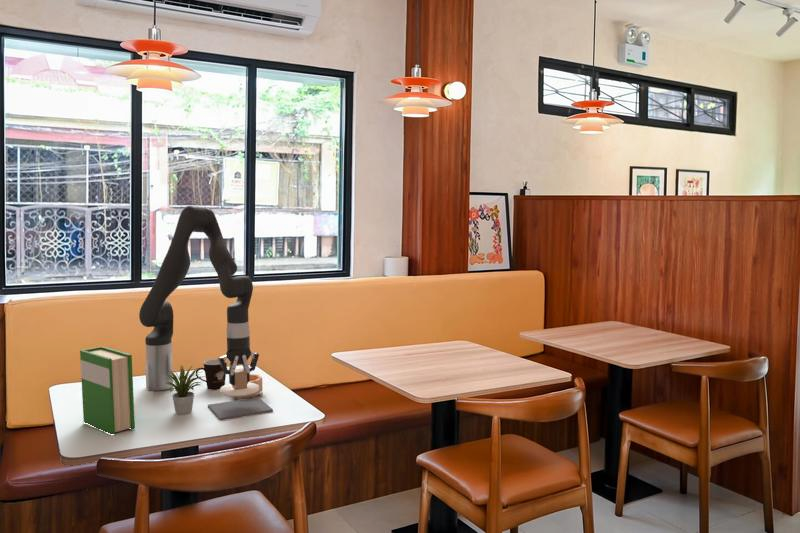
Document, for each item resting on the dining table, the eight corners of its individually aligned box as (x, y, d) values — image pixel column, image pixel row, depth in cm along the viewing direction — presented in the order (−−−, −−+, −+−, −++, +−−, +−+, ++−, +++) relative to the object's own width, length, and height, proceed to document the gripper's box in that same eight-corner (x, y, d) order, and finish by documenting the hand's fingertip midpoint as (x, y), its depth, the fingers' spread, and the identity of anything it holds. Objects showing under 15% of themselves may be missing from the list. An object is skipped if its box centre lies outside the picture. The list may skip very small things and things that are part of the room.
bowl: (235, 400, 237) (235, 384, 236) (227, 392, 246) (226, 376, 246) (265, 395, 242) (265, 379, 242) (256, 388, 252) (255, 372, 251)
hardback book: (134, 429, 208) (131, 354, 205) (112, 436, 202) (108, 359, 199) (106, 417, 219) (102, 346, 216) (83, 423, 213) (79, 350, 210)
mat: (219, 420, 216) (219, 418, 216) (207, 406, 230) (207, 404, 230) (273, 411, 225) (273, 409, 225) (258, 399, 239) (258, 396, 238)
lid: (226, 398, 218) (225, 377, 217) (215, 388, 229) (215, 368, 228) (264, 392, 224) (263, 372, 223) (252, 383, 235) (252, 363, 235)
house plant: (186, 423, 214) (184, 373, 212) (151, 417, 218) (149, 369, 217) (213, 409, 227) (211, 363, 225) (179, 405, 232) (178, 359, 230)
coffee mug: (226, 383, 258) (226, 358, 257) (228, 389, 250) (227, 363, 249) (195, 386, 254) (194, 360, 253) (196, 392, 246) (195, 366, 245)
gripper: (255, 330, 231) (256, 378, 233) (214, 335, 224) (215, 384, 226) (262, 334, 225) (263, 384, 227) (220, 339, 218) (221, 390, 220)
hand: (239, 384), depth 226 cm, fingers closed on lid, 4 cm apart
